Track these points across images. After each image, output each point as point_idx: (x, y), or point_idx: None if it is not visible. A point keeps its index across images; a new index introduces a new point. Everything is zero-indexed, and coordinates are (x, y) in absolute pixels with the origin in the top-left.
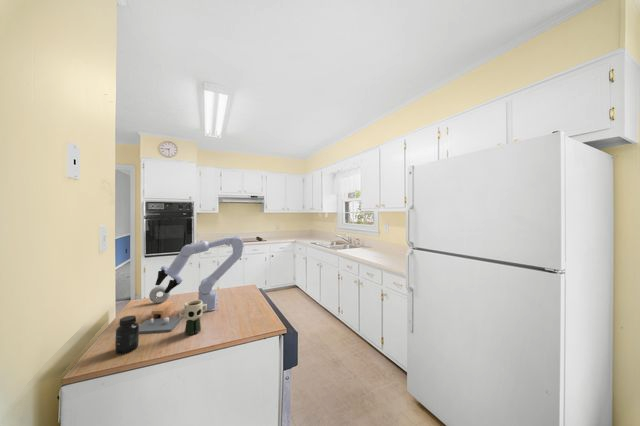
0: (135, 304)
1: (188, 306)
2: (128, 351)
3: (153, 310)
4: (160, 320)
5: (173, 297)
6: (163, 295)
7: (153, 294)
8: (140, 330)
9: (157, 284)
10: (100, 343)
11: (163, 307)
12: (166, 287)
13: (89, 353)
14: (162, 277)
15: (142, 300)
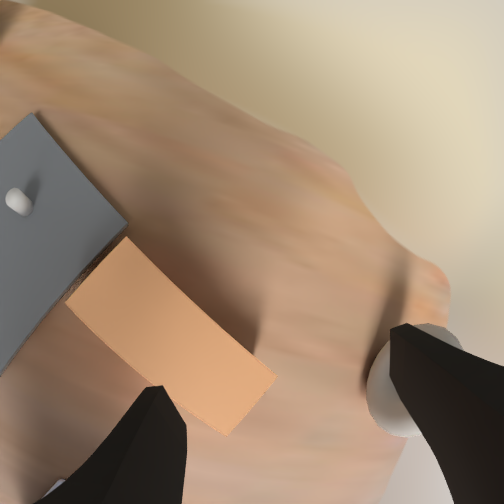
0: (424, 273)
1: None
2: None
3: (133, 254)
4: (38, 269)
5: (390, 436)
6: (395, 397)
7: None
8: (11, 141)
9: (396, 353)
10: (81, 31)
11: (140, 338)
12: None
13: (44, 10)
14: (465, 452)
15: (443, 310)
